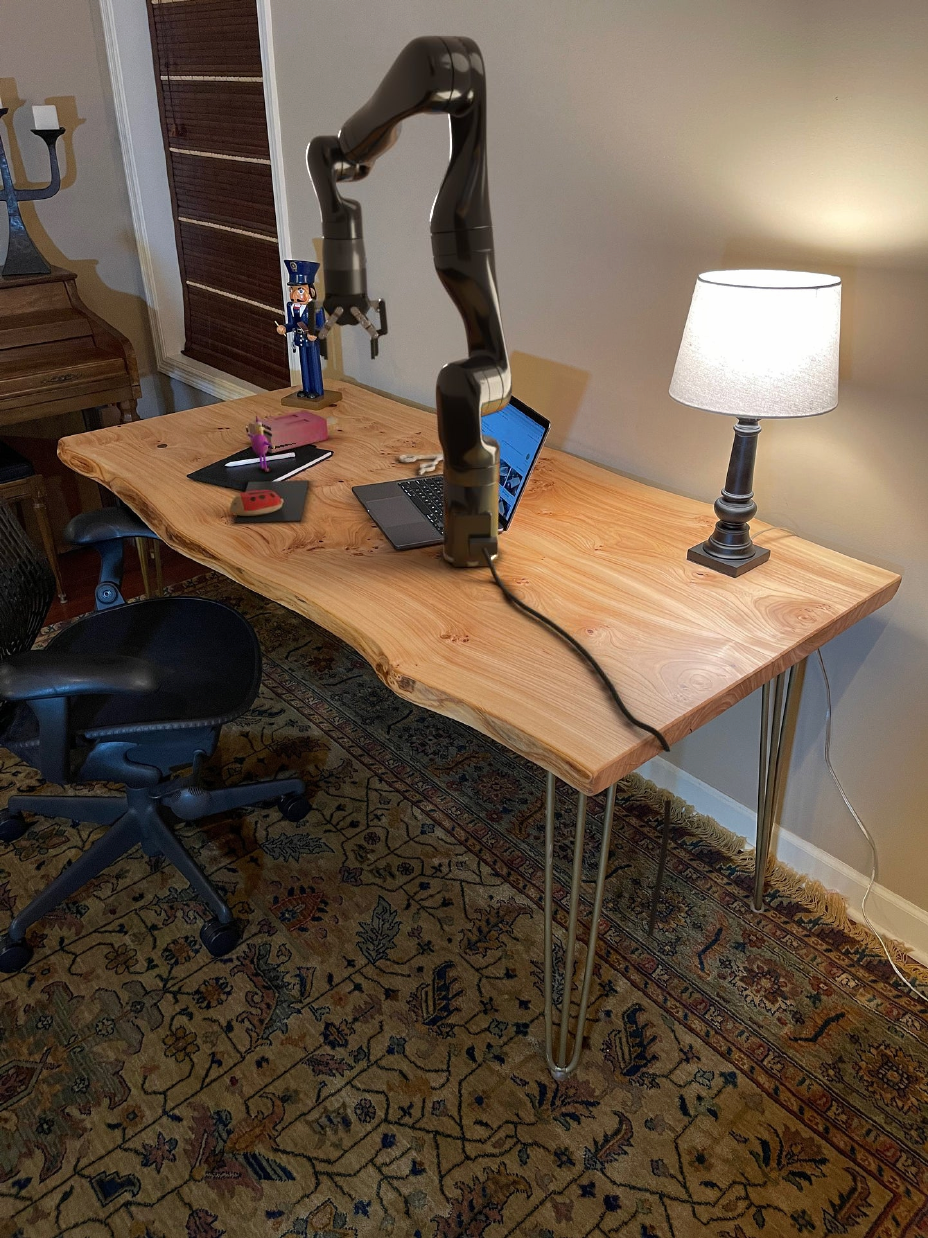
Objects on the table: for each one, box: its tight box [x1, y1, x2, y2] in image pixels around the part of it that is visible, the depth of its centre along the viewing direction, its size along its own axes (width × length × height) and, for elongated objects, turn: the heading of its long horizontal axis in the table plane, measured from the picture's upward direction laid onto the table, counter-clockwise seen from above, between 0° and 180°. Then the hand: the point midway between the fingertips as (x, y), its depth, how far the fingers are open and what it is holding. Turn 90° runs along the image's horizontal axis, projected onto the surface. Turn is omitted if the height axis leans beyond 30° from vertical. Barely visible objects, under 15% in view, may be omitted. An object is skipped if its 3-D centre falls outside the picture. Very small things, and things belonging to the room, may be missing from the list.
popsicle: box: [248, 409, 339, 454], centre depth 205 cm, size 9×5×20 cm
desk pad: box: [233, 480, 310, 524], centre depth 174 cm, size 20×12×1 cm, turn 4°
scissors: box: [398, 452, 443, 476], centre depth 195 cm, size 11×1×20 cm
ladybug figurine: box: [229, 490, 283, 516], centre depth 168 cm, size 7×10×4 cm
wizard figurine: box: [245, 413, 275, 473], centre depth 185 cm, size 11×3×12 cm, turn 41°
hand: (349, 358), depth 165 cm, fingers open, 8 cm apart
